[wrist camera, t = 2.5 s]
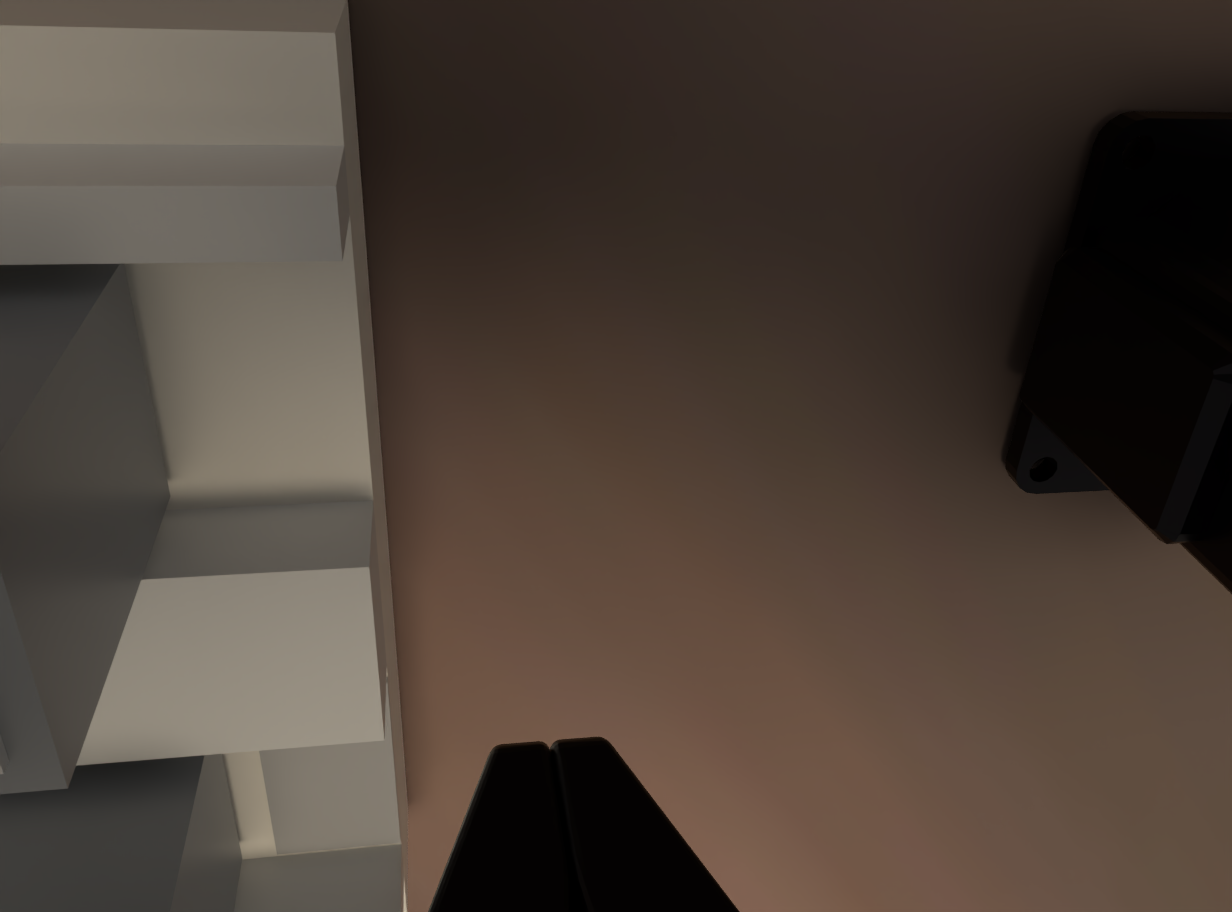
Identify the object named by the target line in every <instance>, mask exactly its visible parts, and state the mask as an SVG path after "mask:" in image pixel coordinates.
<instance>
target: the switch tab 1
mask: <svg viewBox="0 0 1232 912" xmlns="http://www.w3.org/2000/svg"><path fill="white" fill-rule="evenodd" d="M169 499H170V491H169V486H168V481H167V476H166V471H165V466H164V461H163V456H162V451H161V446H160V441H159V436H158V431H157V426H156V421H155V416H154V411H153V406H152V401H151V396H150V391H149V386H148V381H147V376H146V371H145V366H144V361H143V356H142V351H141V345H140V340H139V335H138V330H137V325H136V320H135V315H134V310H133V305H132V300H131V295H130V290H129V285H128V280H127V275H126V270H125V265H124V264H35V265H0V794H9V793H21V792H33V791H45V790H57V789H68V787H69V784H70V781H71V778H72V775H73V773H74V770H75V767H76V764H77V761H78V758H79V756H80V753H81V750H82V747H83V744H84V741H85V738H86V736H87V733H88V730H89V727H90V724H91V721H92V719H93V716H94V713H95V710H96V707H97V704H98V701H99V699H100V696H101V693H102V690H103V687H104V684H105V682H106V679H107V676H108V673H109V670H110V667H111V664H112V662H113V659H114V656H115V653H116V650H117V647H118V644H119V642H120V639H121V636H122V633H123V630H124V627H125V625H126V622H127V619H128V616H129V613H130V610H131V607H132V605H133V602H134V599H135V596H136V593H137V590H138V588H139V585H140V582H141V579H142V576H143V573H144V570H145V568H146V565H147V562H148V559H149V556H150V553H151V551H152V548H153V545H154V542H155V539H156V536H157V533H158V531H159V528H160V525H161V522H162V519H163V516H164V513H165V511H166V508H167V505H168V502H169Z"/></svg>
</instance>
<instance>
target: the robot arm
mask: <svg viewBox="0 0 1232 912" xmlns="http://www.w3.org/2000/svg"><path fill="white" fill-rule="evenodd" d="M1138 136H1140V142H1139V147H1138V149H1137V151H1136V153H1135V154H1134V155H1133V156H1132V157H1131V158H1129V159H1128V160H1127V161H1123V162H1122V157H1123V151H1124V149H1125V148H1126V146H1127V144H1128V143H1129V142H1130V141H1131V140H1133V139H1134V138H1135V137H1138ZM1020 399H1021V400H1022V403H1021V407H1020V410H1019V414H1018V418H1017V421H1016V425H1015V428H1014V432H1013V436H1012V439H1011V443H1010V446H1009V450H1008V454H1007V457H1006V470H1007V472H1008V474H1009V476H1010V477H1011V478H1012V480H1013V481H1014V482H1015V483H1016V484H1017V485H1018V486H1019V487H1020V488H1021V489H1022V490H1024V491H1025V492H1027V493H1035V494H1040V493H1060V492H1081V491H1101V490H1110V491H1111V492H1112V493H1113V494H1114V495H1115V496H1116V497H1117V498H1118V499H1119V500H1120V501H1121V502H1122V503H1123V504H1124V505H1125V506H1126V507H1127V508H1128V509H1129V510H1130V511H1131V512H1132V513H1133V514H1134V515H1135V516H1136V517H1137V518H1138V519H1139V520H1140V521H1141V522H1142V523H1143V524H1144V525H1145V526H1146V527H1147V528H1148V529H1149V530H1150V531H1151V532H1152V533H1153V534H1154V535H1155V536H1156V537H1157V538H1158V539H1159V540H1161V541H1162V542H1164V543H1166V544H1174V543H1180V544H1181V545H1182V546H1183V547H1184V548H1185V549H1186V550H1187V551H1188V552H1189V553H1190V554H1191V555H1192V556H1193V557H1194V558H1195V559H1196V560H1197V561H1198V562H1199V563H1200V564H1201V565H1202V566H1203V567H1204V568H1205V569H1206V570H1208V571H1209V572H1210V573H1211V574H1212V575H1213V576H1214V577H1215V578H1216V579H1217V580H1218V581H1219V582H1220V583H1221V584H1222V585H1223V586H1224V587H1225V588H1226V589H1227V590H1228V591H1229V592H1230V593H1231V594H1232V113H1214V112H1135V111H1133V112H1128V113H1123V114H1120V115H1118V116H1117V117H1115V118H1114V119H1112V120H1110V121H1109V122H1108V123H1107V124H1106V125H1105V126H1104V127H1103V129H1102V130H1101V131H1100V132H1099V134H1098V136H1097V138H1096V140H1095V142H1094V145H1093V148H1092V151H1091V155H1090V159H1089V162H1088V166H1087V169H1086V173H1085V177H1084V180H1083V184H1082V187H1081V191H1080V195H1079V198H1078V202H1077V205H1076V209H1075V213H1074V216H1073V220H1072V223H1071V227H1070V231H1069V234H1068V238H1067V241H1066V245H1065V249H1064V252H1063V255H1062V256H1061V257H1060V259H1059V260H1058V261H1057V263H1056V265H1055V269H1054V272H1053V276H1052V280H1051V283H1050V287H1049V291H1048V294H1047V298H1046V302H1045V305H1044V309H1043V312H1042V316H1041V320H1040V323H1039V327H1038V331H1037V334H1036V338H1035V341H1034V345H1033V349H1032V352H1031V356H1030V360H1029V363H1028V367H1027V370H1026V374H1025V378H1024V381H1023V385H1022V389H1021V392H1020ZM1045 457H1046V458H1045ZM1041 458H1045V459H1044V461H1043V463H1042V464H1041V465H1039V466H1038V467H1037V468H1035V469H1031V467H1032V465H1033V464H1034V463H1035V462H1036V461H1038V460H1039V459H1041ZM1030 469H1031V470H1030ZM428 912H739V910H738V909H737V908H736V907H735V905H734V904H733V903H732V901H731V900H730V899H729V897H728V896H727V895H726V893H725V892H724V891H723V890H722V888H721V887H720V886H719V884H718V883H717V882H716V880H715V879H714V878H713V876H712V875H711V874H710V873H709V871H708V870H707V869H706V867H705V866H704V865H703V863H702V862H701V861H700V859H699V858H698V857H697V856H696V854H695V853H694V852H693V850H692V849H691V848H690V846H689V845H688V844H687V842H686V841H685V840H684V839H683V837H682V836H681V835H680V833H679V832H678V831H677V829H676V828H675V827H674V825H673V824H672V823H671V822H670V820H669V819H668V818H667V816H666V815H665V814H664V812H663V811H662V810H661V808H660V807H659V806H658V805H657V803H656V802H655V801H654V799H653V798H652V797H651V795H650V794H649V793H648V791H647V790H646V789H645V788H644V786H643V785H642V784H641V782H640V781H639V780H638V778H637V777H636V776H635V774H634V773H633V772H632V771H631V769H630V768H629V767H628V765H627V764H626V763H625V761H624V760H623V759H622V757H621V756H620V755H619V754H618V752H617V751H616V750H615V748H614V747H613V746H612V745H611V744H610V742H609V741H607V740H606V739H604V738H602V737H587V738H575V739H562V740H557V741H556V742H554V743H553V744H552V746H551V747H550V750H549V747H548V746H547V744H545V743H544V742H540V741H537V742H524V743H511V744H501V745H497V746H495V747H494V748H493V749H492V751H491V752H490V754H489V756H488V758H487V761H486V764H485V766H484V769H483V771H482V774H481V776H480V779H479V782H478V784H477V787H476V789H475V792H474V795H473V797H472V800H471V802H470V805H469V808H468V810H467V813H466V815H465V818H464V820H463V823H462V826H461V828H460V831H459V833H458V836H457V839H456V841H455V844H454V846H453V849H452V852H451V854H450V857H449V859H448V862H447V864H446V867H445V870H444V872H443V875H442V877H441V880H440V883H439V885H438V888H437V890H436V893H435V896H434V898H433V901H432V903H431V906H430V908H429V911H428Z"/></svg>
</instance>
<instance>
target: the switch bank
mask: <svg viewBox="0 0 1232 912" xmlns="http://www.w3.org/2000/svg"><path fill="white" fill-rule="evenodd" d="M35 264H124V265H125V270H126V275H127V280H128V285H129V290H130V295H131V300H132V305H133V310H134V315H135V320H136V325H137V330H138V335H139V340H140V345H141V351H142V356H143V361H144V366H145V371H146V376H147V381H148V386H149V391H150V396H151V401H152V406H153V411H154V416H155V421H156V426H157V431H158V436H159V441H160V446H161V451H162V456H163V461H164V466H165V471H166V476H167V481H168V486H169V491H170V499H169V502H168V505H167V508H166V511H165V513H164V516H163V519H162V522H161V525H160V528H159V531H158V533H157V536H156V539H155V542H154V545H153V548H152V551H151V553H150V556H149V559H148V562H147V565H146V568H145V570H144V573H143V576H142V579H141V582H140V585H139V588H138V590H137V593H136V596H135V599H134V602H133V605H132V607H131V610H130V613H129V616H128V619H127V622H126V625H125V627H124V630H123V633H122V636H121V639H120V642H119V644H118V647H117V650H116V653H115V656H114V659H113V662H112V664H111V667H110V670H109V673H108V676H107V679H106V682H105V684H104V687H103V690H102V693H101V696H100V699H99V701H98V704H97V707H96V710H95V713H94V716H93V719H92V721H91V724H90V727H89V730H88V733H87V736H86V738H85V741H84V744H83V747H82V750H81V753H80V756H79V758H78V761H77V764H76V766H77V765H90V764H102V763H114V762H126V761H139V760H151V759H163V758H176V757H188V756H200V755H212V754H222V758H223V763H224V768H225V773H226V778H227V783H228V788H229V794H230V799H231V804H232V809H233V814H234V819H235V824H236V829H237V834H238V839H239V844H240V849H241V854H242V863H241V870H240V876H239V882H238V888H237V894H236V900H235V906H234V912H407V909H408V799H407V786H406V772H405V759H404V745H403V732H402V719H401V705H400V692H399V679H398V665H397V652H396V638H395V625H394V612H393V598H392V585H391V572H390V558H389V545H388V532H387V518H386V505H385V491H384V478H383V465H382V451H381V438H380V425H379V411H378V398H377V384H376V371H375V358H374V344H373V331H372V318H371V304H370V291H369V278H368V264H367V251H366V237H365V224H364V211H363V197H362V184H361V171H360V157H359V144H358V130H357V117H356V104H355V90H354V77H353V64H352V50H351V37H350V24H349V10H348V0H0V265H35Z"/></svg>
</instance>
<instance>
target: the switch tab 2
mask: <svg viewBox="0 0 1232 912" xmlns="http://www.w3.org/2000/svg"><path fill="white" fill-rule="evenodd" d="M241 863H242V854H241V849H240V844H239V839H238V834H237V829H236V824H235V819H234V814H233V809H232V804H231V799H230V794H229V788H228V783H227V778H226V773H225V768H224V763H223V758H222V754H212V755H200V756H188V757H176V758H163V759H151V760H139V761H126V762H114V763H102V764H90V765H77V766H76V767H75V770H74V773H73V775H72V778H71V781H70V784H69V787H68V789H57V790H45V791H33V792H21V793H9V794H0V912H234V906H235V900H236V894H237V888H238V882H239V876H240V870H241Z"/></svg>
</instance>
